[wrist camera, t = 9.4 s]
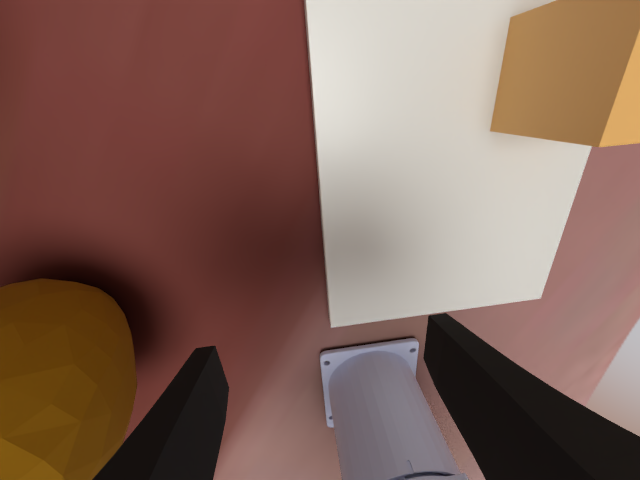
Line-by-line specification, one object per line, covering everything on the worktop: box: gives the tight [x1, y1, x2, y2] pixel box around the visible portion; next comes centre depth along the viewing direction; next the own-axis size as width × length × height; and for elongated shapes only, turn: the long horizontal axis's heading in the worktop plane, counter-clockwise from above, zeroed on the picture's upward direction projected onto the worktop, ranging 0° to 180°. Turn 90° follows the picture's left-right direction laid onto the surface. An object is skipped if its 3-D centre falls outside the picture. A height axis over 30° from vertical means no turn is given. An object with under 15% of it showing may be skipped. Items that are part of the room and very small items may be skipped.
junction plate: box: [304, 0, 592, 328], centre depth 15 cm, size 20×16×4 cm
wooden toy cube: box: [490, 0, 640, 147], centre depth 12 cm, size 5×5×6 cm
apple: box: [0, 278, 137, 480], centre depth 13 cm, size 11×11×13 cm
